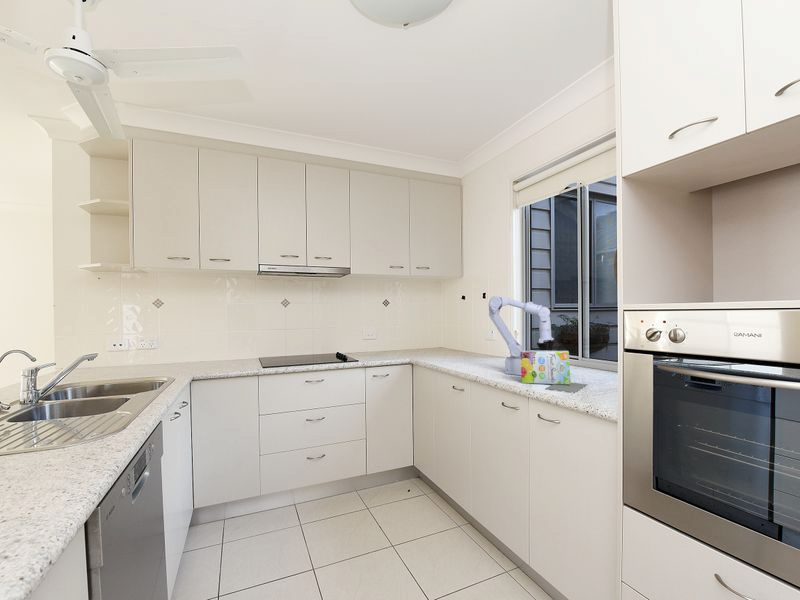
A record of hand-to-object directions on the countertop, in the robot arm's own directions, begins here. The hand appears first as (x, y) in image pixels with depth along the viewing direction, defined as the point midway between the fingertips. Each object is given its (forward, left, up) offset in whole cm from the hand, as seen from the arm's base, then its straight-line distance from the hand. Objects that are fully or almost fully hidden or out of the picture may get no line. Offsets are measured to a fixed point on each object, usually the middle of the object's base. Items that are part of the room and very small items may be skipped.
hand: (546, 355), depth 192 cm
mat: (+17, -23, -10) cm, 30 cm away
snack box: (+7, -21, -10) cm, 24 cm away
